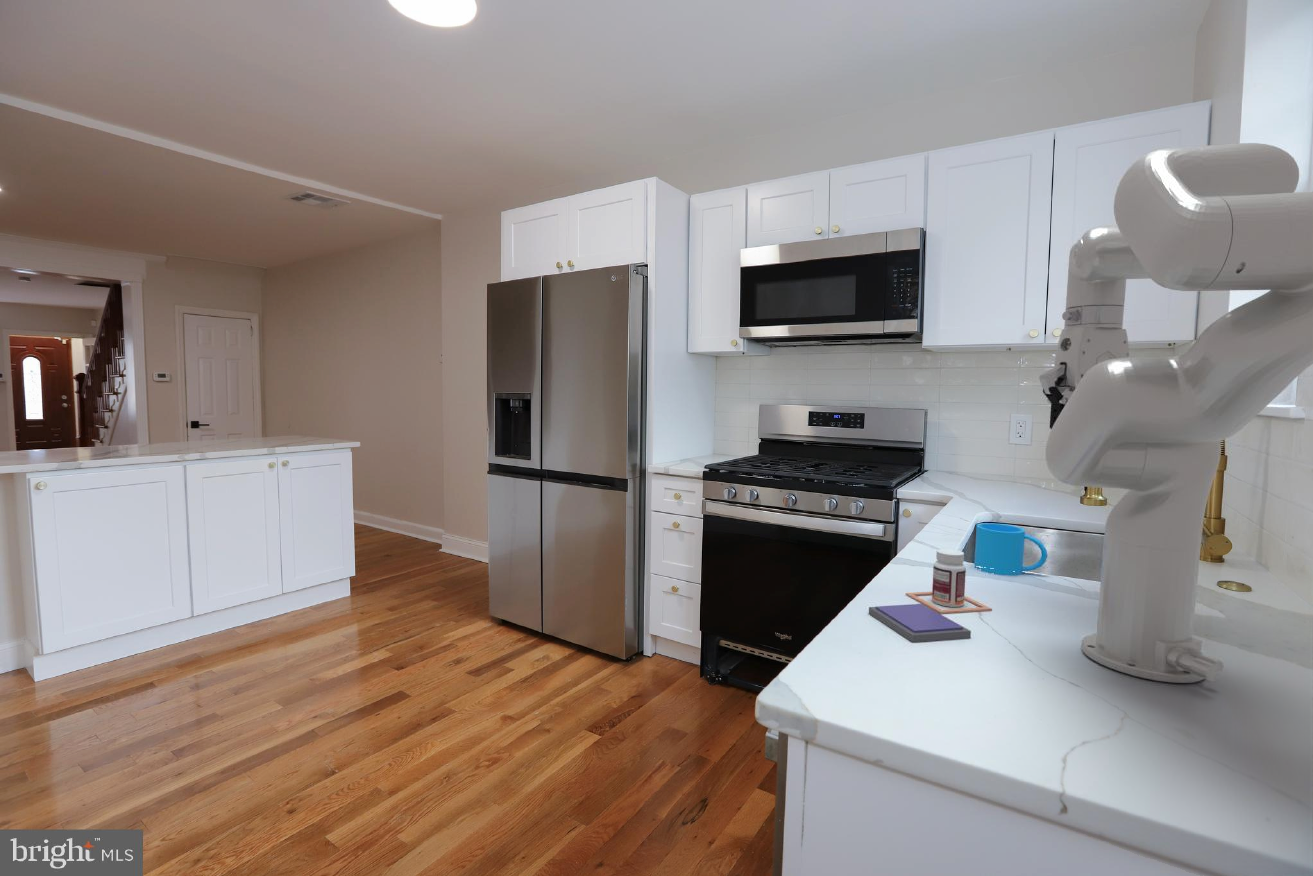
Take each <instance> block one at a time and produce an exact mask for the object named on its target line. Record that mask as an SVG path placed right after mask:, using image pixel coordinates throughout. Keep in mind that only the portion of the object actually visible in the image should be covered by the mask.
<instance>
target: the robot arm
mask: <svg viewBox="0 0 1313 876" xmlns="http://www.w3.org/2000/svg"><path fill="white" fill-rule="evenodd" d="M1299 179H1300V169H1299V165H1298V163H1297V161H1296V160H1295V157H1293V156H1292V155H1291V154H1290V153H1289V152H1287V151H1285V150H1284V149H1282V148H1280V147H1278V146H1275V145H1271V144H1267V143H1258V142H1257V143H1255V142H1243V143H1238V142H1237V143H1228V144H1227V143H1225V144H1211V145H1197V146H1183V147H1179V146H1178V147H1166V148H1161V149H1156V150H1154V151H1151V152H1148V153H1146V154H1145V155H1142V157H1140V158H1139V159H1137V160H1136V161H1135V162H1134V163H1132V164H1131V165H1130V167H1128V169H1127V170H1126V171H1125V173H1124V174H1123V176H1122V178H1121V179H1120V181H1119V183H1118V185H1117V188H1116V191H1115V195H1114V201H1113V214H1114V219H1115V223H1116V225H1115V224H1114V225H1101V226H1095V227H1092V228H1090V229H1088V230H1086V231H1085V233H1083V234H1082V236H1081V237H1080V238H1079V239H1078V240H1077V241H1076V243H1074V244H1073V245H1072V246H1071V248H1070V251H1069V254H1068V255H1069V256H1068V257H1069V258H1068V271H1067V285H1066V297H1065V301H1066V302H1065V311H1064V312H1062V314H1061V315H1062V316H1061V318H1062V320H1064V325H1063V326H1064V327H1063V329H1061V332H1060V335H1059V339H1058V343H1057V347H1056V348H1057V349H1056V353H1055V358H1054V359H1055V360H1054V366H1053V367H1052V368H1050V369H1049V370H1047V371H1046V372H1043V373H1042V374H1040V375H1039V376H1038V377H1039V382H1040V384H1041V387H1042V393H1043V394H1044V396H1045V397H1046V398H1047V403H1048V404H1050V413H1049V414H1050V415H1049V429H1050V432H1049V434H1048V437H1047V441H1046V444H1045V445H1046V446H1045V462H1046V466H1047V469H1048V470H1049V472H1050V473H1051V474H1052V476H1053V477H1054V478H1056V480H1058V481H1059V482H1062V483H1064V484H1066V485H1070V486H1075V487H1088V488H1100V489H1101V488H1102V489H1103V488H1106V489H1123V490H1127V492H1126V493H1125V494H1124V495H1123V497H1121V498H1120V499H1119V500H1118V502H1117V503H1116V504H1115V505H1114V506H1113V507H1112V509H1111V510H1110V512H1109V514H1108V516H1107V519H1106V521H1105V526H1104V537H1103V551H1102V561H1101V562H1102V563H1101V573H1100V574H1101V575H1100V576H1101V577H1100V589H1099V599H1098V600H1099V602H1098V613H1097V625H1096V626H1097V627H1096V633H1094V634H1089V635H1087V636H1085V637H1083V638H1082V640H1081V648H1080V649H1081V650H1082V652H1083V653H1084V654H1085V655H1086V656H1087V657H1088V658H1090V659H1091V660H1092V661H1095V662H1096V663H1098V664H1100V665H1102V666H1104V667H1106V668H1109V669H1112V670H1114V671H1118V672H1120V673H1123V674H1127V675H1130V676H1133V677H1136V678H1137V677H1139V678H1141V679H1147V680H1151V681H1157V682H1163V683H1174V684H1175V683H1176V684H1191V683H1197V682H1200V681H1203V680H1206V681H1210V682H1214V681H1215V680H1216V679H1217V678H1218V677H1219V674H1220V672H1221V671H1222V670H1223V668H1224V663H1223V661H1221V660H1218V659H1217V658H1214V657H1211V656H1207V655H1204V654H1203V652H1202V647H1203V646H1202V645H1203V640H1200V639H1198V638H1195V637H1194V635H1193V634H1194V626H1195V625H1194V624H1195V614H1196V603H1197V602H1196V601H1197V591H1198V581H1199V579H1198V578H1199V569H1200V557H1201V549H1202V548H1201V547H1202V541H1203V540H1202V539H1203V528H1204V522H1205V514H1206V508H1207V503H1208V499H1209V494H1210V491H1211V490H1212V489H1211V488H1212V485H1213V483H1214V479H1215V477H1216V474H1217V472H1218V469H1219V464H1220V461H1221V453H1222V445H1221V441H1224V440H1226V439H1228V438H1231V437H1232V436H1234V435H1235V434H1237V433H1239V432H1240V431H1241V430H1242V429H1243V428H1245V427H1246V426H1247V425H1248V424H1249V423H1250V422H1251V421H1252V420H1253V419H1254V418H1256V416H1258V415H1259V414H1260V413H1261V412H1262V411H1263V410H1264V409H1265V408H1266V407H1267V406H1269V405H1270V403H1271V402H1272V401H1274V400H1275V399H1276V398H1277V397H1278V396H1279V395H1280V394H1281V393H1282V392H1283V391H1284V390H1286V388H1288V386H1289V385H1290V384H1292V382H1293V381H1294V380H1295V379H1296V378H1297V377H1298V376H1300V375H1301V374H1302V373H1303V372H1304V371H1305V370H1306V369H1308V368H1309V367H1310V366H1311V365H1313V191H1299V192H1298V191H1297V192H1296V190H1297V187H1298V185H1299V181H1300V180H1299ZM1140 279H1141V280H1143V279H1144V280H1146V279H1150V280H1152V282H1154V283H1155V284H1157V285H1158V286H1160V287H1163V288H1165V289H1169V290H1173V291H1179V292H1180V291H1181V292H1208V291H1209V292H1215V291H1216V292H1219V291H1220V292H1221V291H1222V292H1224V291H1225V292H1226V291H1267V292H1265V293H1264V294H1262V295H1260V296H1258V297H1256V298H1254V299H1252V300H1250V301H1247V302H1245V303H1243V304H1242V305H1239V306H1238V307H1236V308H1233V309H1232V310H1230V311H1228V312H1227V313H1225V314H1223V315H1222V316H1221V317H1219V318H1218V319H1216V320H1215V321H1214V322H1212V323H1211V324H1210V325H1209V326H1207V327H1206V328H1205V329H1204V330H1203V331H1202V333H1200V335H1199V336H1198V337H1197V339H1196V340H1195V341H1194V343H1193V344H1192V345H1191V346H1190V348H1188V349H1187V350H1186V351H1185V352H1184V353H1181V354H1178V355H1173V356H1167V357H1166V356H1165V357H1130V347H1129V345H1130V344H1129V338H1128V333H1127V329H1126V328H1123V326H1124V325H1123V324H1124V312H1125V302H1126V300H1125V298H1126V286H1127V280H1140Z"/></svg>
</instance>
